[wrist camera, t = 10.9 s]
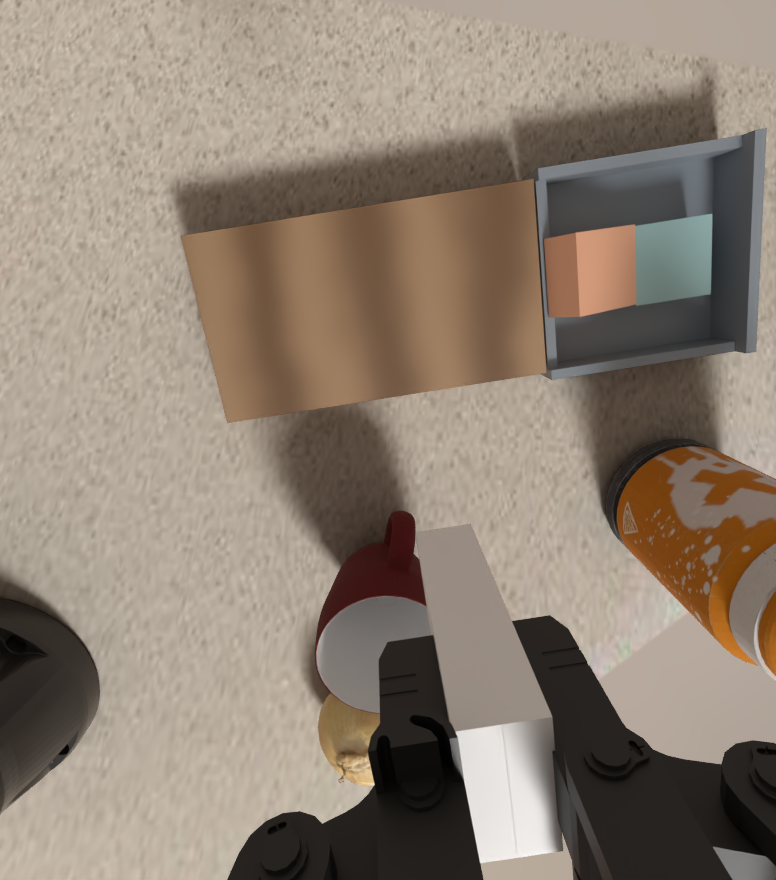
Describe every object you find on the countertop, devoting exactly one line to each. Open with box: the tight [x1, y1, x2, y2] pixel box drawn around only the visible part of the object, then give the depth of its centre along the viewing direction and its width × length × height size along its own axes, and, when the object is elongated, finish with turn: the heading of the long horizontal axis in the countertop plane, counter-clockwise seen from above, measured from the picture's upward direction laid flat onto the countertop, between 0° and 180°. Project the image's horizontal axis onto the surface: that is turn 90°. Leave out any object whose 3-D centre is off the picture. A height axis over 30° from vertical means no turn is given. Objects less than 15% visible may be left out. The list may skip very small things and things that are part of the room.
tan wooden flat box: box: [181, 179, 546, 423], centre depth 33 cm, size 20×11×3 cm, turn 99°
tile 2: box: [544, 224, 637, 317], centre depth 31 cm, size 4×4×2 cm
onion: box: [318, 693, 380, 786], centre depth 39 cm, size 8×8×7 cm
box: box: [523, 128, 767, 380], centre depth 32 cm, size 12×12×4 cm
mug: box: [315, 511, 431, 714], centre depth 34 cm, size 10×8×10 cm
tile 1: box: [631, 214, 712, 306], centre depth 32 cm, size 4×4×2 cm
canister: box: [606, 439, 776, 681], centre depth 29 cm, size 9×11×20 cm
